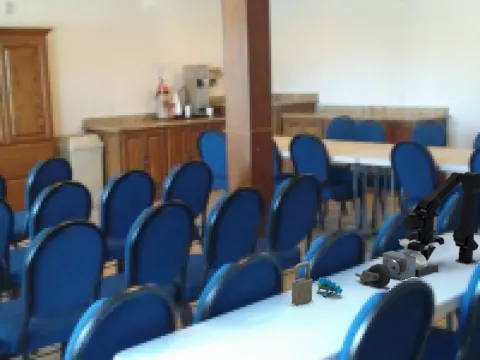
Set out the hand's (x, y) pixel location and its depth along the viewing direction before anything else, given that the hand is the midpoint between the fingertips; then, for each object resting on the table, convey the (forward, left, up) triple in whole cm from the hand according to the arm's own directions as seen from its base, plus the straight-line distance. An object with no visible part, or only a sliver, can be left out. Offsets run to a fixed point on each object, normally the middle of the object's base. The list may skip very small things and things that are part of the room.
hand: (425, 262), depth 293 cm
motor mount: (+12, 0, -2) cm, 12 cm away
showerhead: (-11, -16, -2) cm, 19 cm away
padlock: (+70, -4, -2) cm, 71 cm away
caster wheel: (+35, 0, -2) cm, 35 cm away
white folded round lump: (+6, 0, -2) cm, 6 cm away
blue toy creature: (+57, -3, -3) cm, 57 cm away
